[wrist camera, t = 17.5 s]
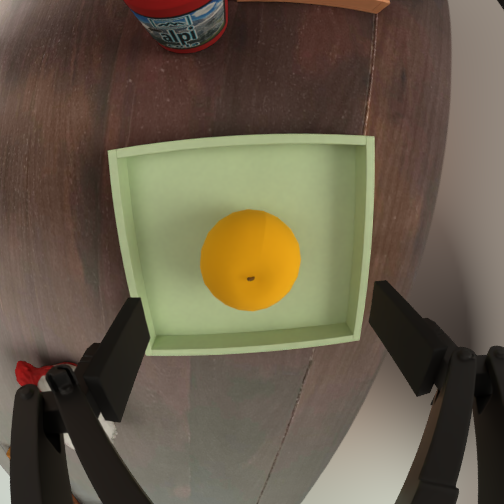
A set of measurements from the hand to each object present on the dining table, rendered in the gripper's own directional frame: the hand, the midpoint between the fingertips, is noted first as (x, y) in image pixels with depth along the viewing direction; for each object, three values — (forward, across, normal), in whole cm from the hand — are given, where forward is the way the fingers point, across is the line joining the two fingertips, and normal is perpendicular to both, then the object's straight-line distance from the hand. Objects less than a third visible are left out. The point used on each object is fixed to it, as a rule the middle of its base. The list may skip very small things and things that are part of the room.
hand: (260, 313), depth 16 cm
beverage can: (+13, -4, +21) cm, 25 cm away
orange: (+12, 0, 0) cm, 12 cm away
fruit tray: (+12, 0, 0) cm, 12 cm away
